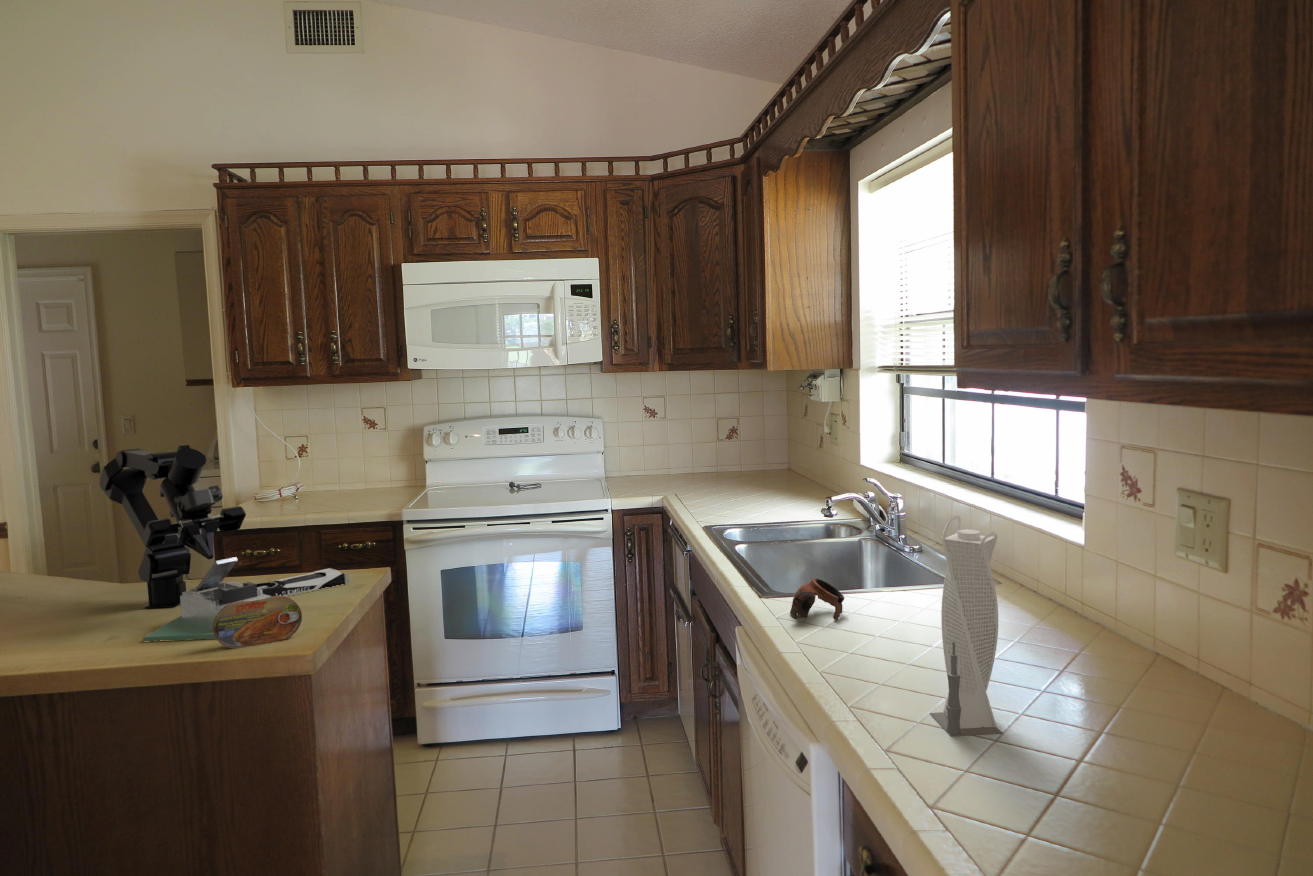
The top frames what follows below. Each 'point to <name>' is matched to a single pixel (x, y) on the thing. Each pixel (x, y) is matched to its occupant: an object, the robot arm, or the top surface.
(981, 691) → the skyscraper
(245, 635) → the tin
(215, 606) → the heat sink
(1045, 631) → the top surface
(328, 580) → the graphics card
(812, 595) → the brown curved loop
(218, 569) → the grey rectangular slab
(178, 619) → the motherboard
